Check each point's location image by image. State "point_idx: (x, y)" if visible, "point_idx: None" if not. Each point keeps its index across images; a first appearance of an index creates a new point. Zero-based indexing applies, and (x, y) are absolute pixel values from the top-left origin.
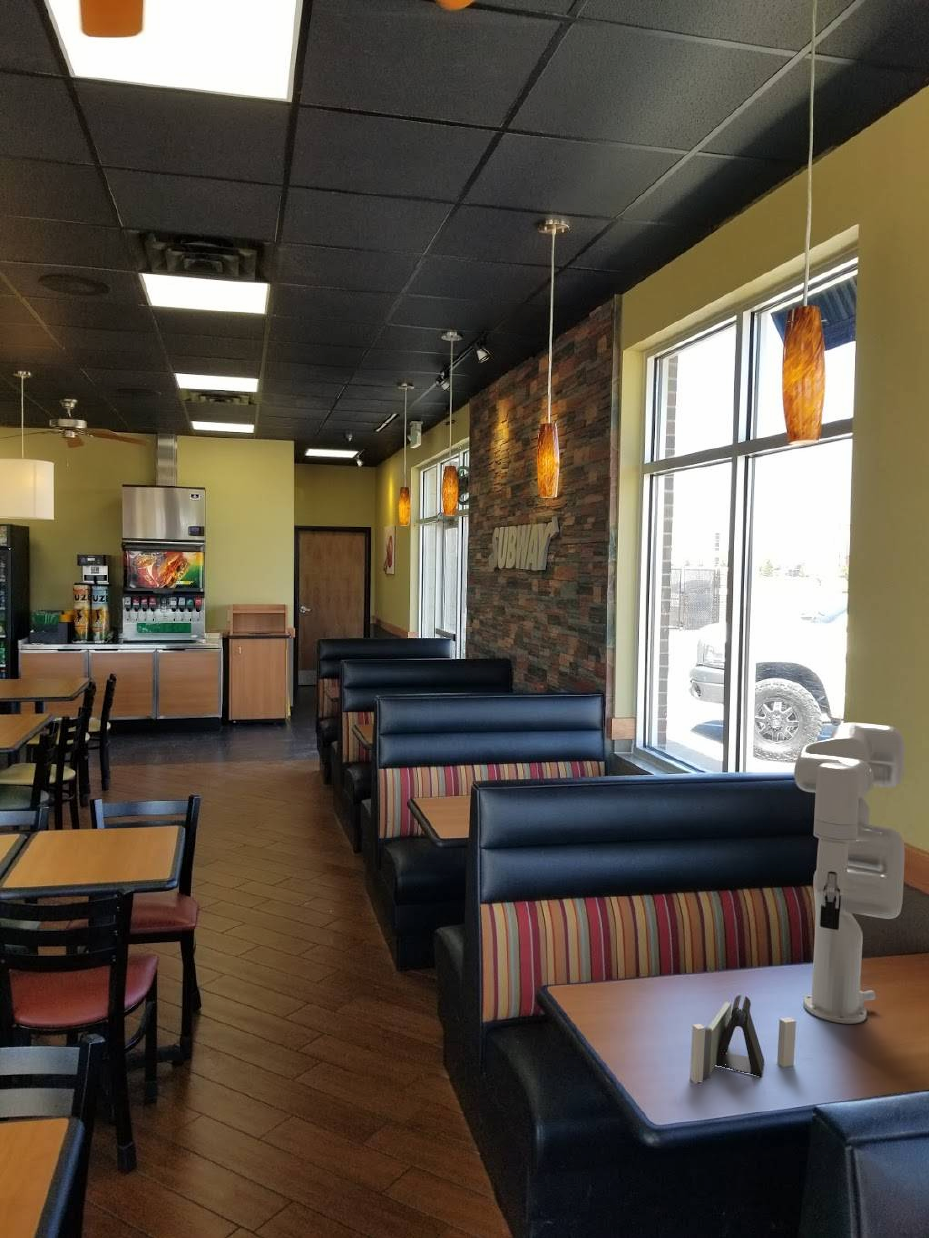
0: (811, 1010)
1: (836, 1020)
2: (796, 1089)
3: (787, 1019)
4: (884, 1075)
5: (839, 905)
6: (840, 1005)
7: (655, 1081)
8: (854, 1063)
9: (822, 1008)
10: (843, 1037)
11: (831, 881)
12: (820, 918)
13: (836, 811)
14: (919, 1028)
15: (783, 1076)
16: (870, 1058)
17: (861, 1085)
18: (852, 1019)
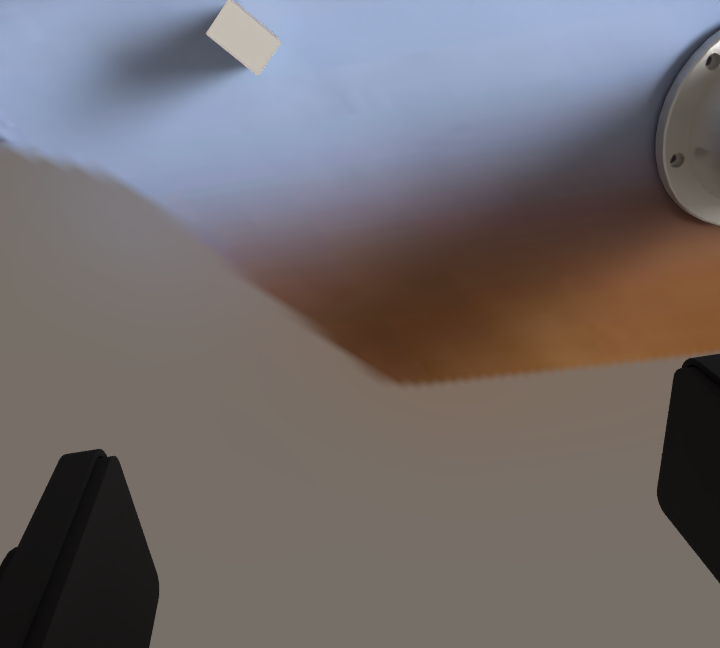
0: (701, 51)
1: (658, 145)
2: (97, 104)
3: (246, 36)
4: (370, 315)
5: (706, 562)
6: (711, 160)
7: None
8: (395, 235)
9: (710, 92)
10: (558, 179)
11: None
12: (37, 516)
13: None
14: None
15: (153, 45)
16: (455, 270)
17: (268, 272)
18: (674, 194)
